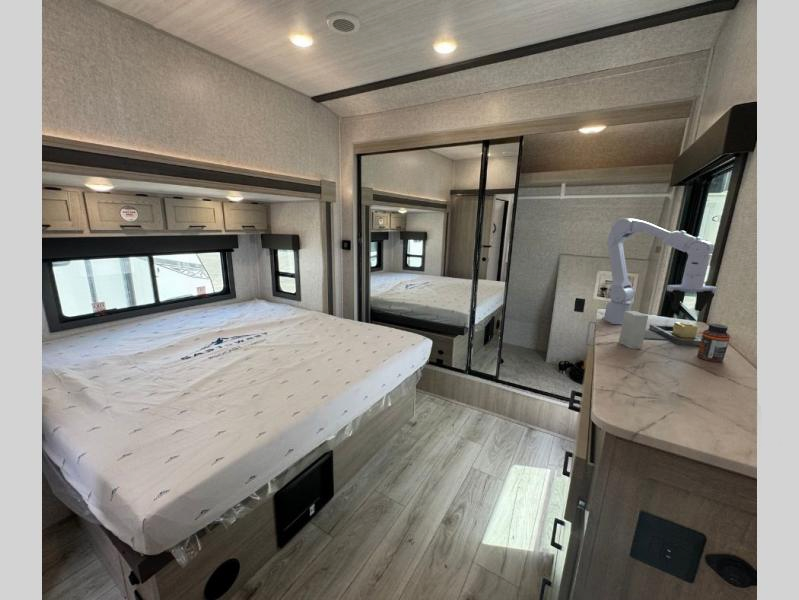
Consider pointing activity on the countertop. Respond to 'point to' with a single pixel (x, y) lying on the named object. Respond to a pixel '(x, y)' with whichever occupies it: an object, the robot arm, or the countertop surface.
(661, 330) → the grey rectangular frame
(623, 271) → the robot arm
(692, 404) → the countertop surface
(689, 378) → the countertop surface
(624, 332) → the skincare box
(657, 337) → the mat
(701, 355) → the supplement bottle
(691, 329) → the gold drawer box
